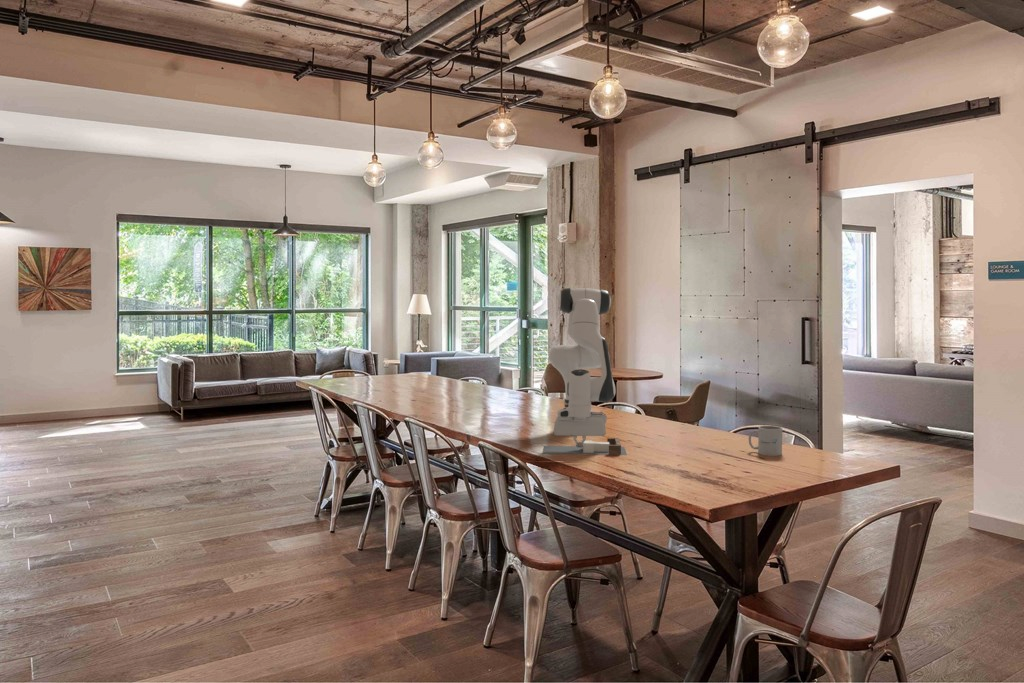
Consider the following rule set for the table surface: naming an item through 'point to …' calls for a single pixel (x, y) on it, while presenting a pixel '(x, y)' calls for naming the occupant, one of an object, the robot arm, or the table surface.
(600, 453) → the mat
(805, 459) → the table surface
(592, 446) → the tee
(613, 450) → the dock
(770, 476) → the table surface
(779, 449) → the mug
